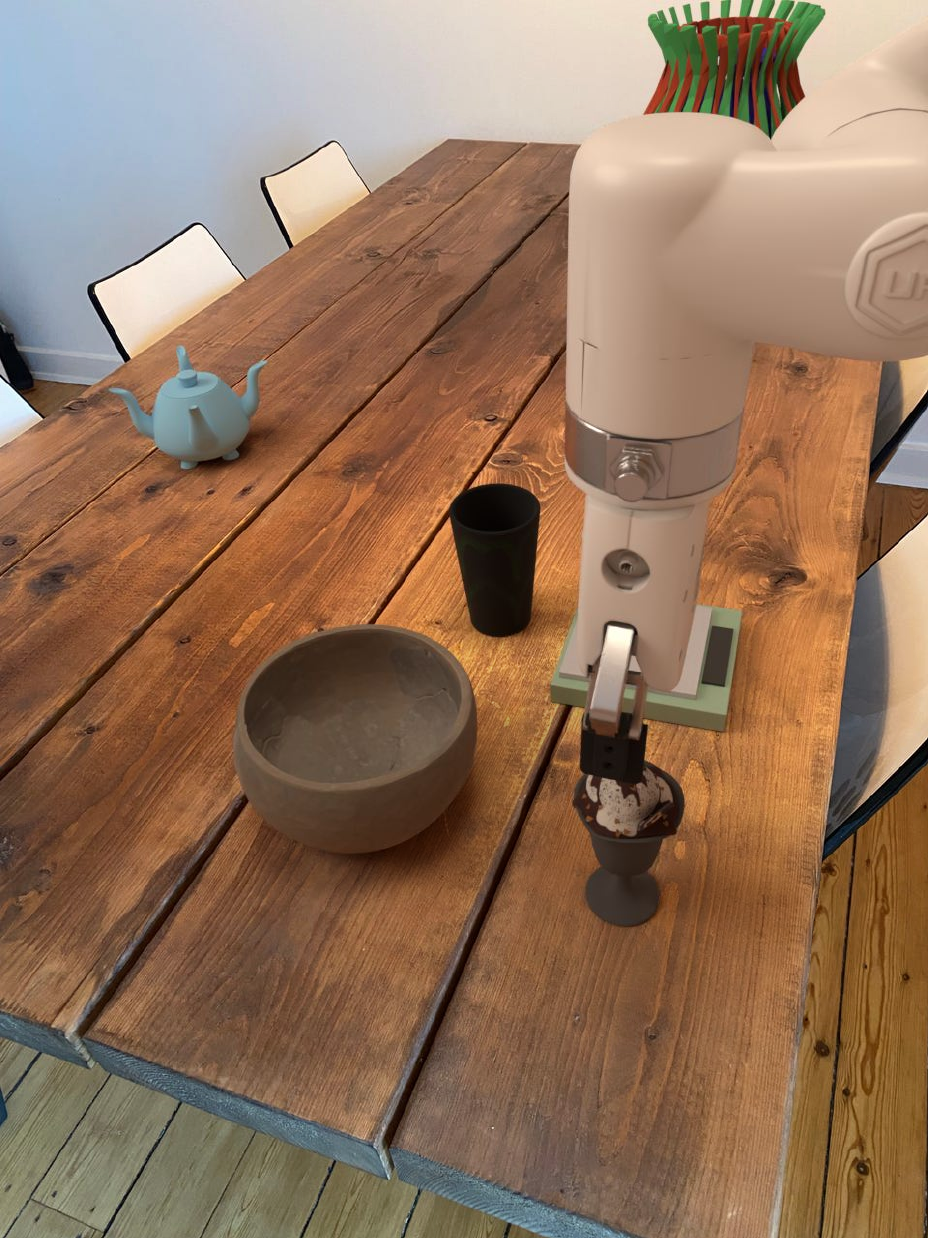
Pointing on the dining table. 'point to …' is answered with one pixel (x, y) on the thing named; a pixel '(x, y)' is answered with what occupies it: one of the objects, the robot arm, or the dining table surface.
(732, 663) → the scale
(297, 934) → the dining table surface
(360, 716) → the bowl
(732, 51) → the vase
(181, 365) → the teapot
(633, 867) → the sundae
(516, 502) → the cup
